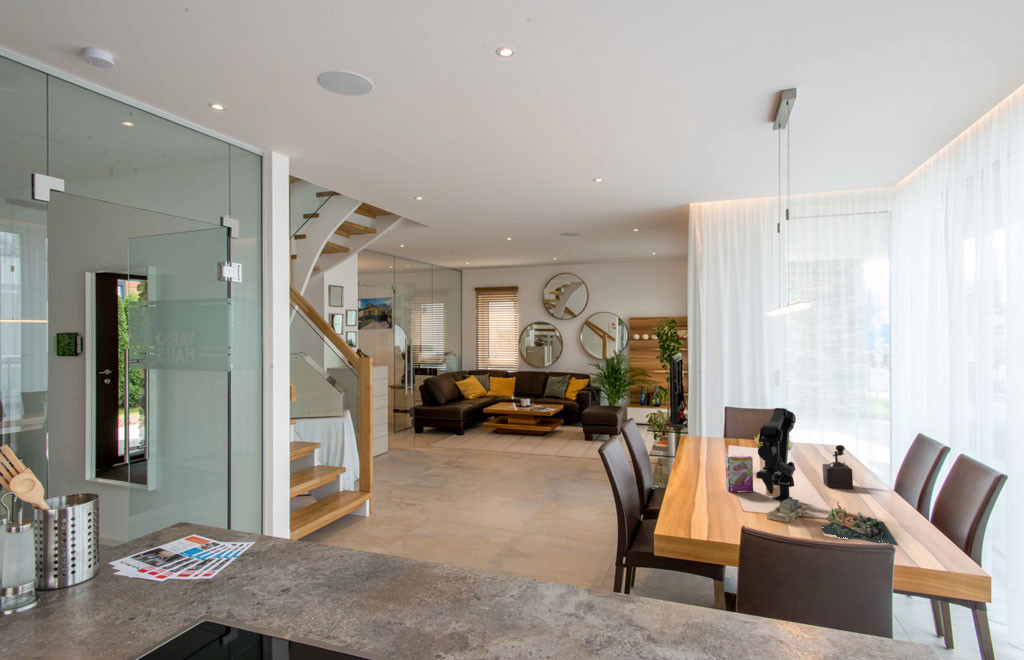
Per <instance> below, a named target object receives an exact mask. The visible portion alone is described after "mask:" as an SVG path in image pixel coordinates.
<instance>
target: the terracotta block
mask: <svg viewBox="0 0 1024 660" xmlns="http://www.w3.org/2000/svg"><path fill="white" fill-rule="evenodd" d="M765 487H766V486H765ZM765 489H766V490H765V492H766V496H769V497H778V496H779V495H780V486H779V485H774V486H773V494H770V493H769V491H768V489H767V487H766V488H765Z"/></svg>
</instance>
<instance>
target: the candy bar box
mask: <svg viewBox="0 0 1024 660" xmlns="http://www.w3.org/2000/svg"><path fill="white" fill-rule="evenodd" d="M724 459H725V489H727V490H726V491H727V492H728V491H729V492H728V493H738V492H737V491H753V492H754V470H753V469H754V468H753V467H754V466H753V463H754V462H753V456H751V455H749V454H747V455H746V454H745V455H744V454H740V455H739V454H725V458H724Z"/></svg>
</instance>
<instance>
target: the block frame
mask: <svg viewBox="0 0 1024 660" xmlns="http://www.w3.org/2000/svg"><path fill="white" fill-rule="evenodd" d="M778 503H779V505H778V506H776V507H775V508H773V509H771V510H769V511H767V512H766V519H768V520H772V519H773V521H776V520H778V521H777V522H781V521H782V522H783V523H786V522H787V524H790V523H791V522H793V521H794V520H795V519H797V518H798V517H800V516H801V515H802V514H801V513H803V512H804V511H806V512H807V506H806V505H801V504H800V503H799V499H795V498H793V499H791V498H787V499H785V500H784V501H782V500H781V501H780V502H778ZM804 513H805V512H804ZM804 513H803V514H804ZM800 514H801V515H800ZM799 515H800V516H799ZM796 517H797V518H796ZM793 519H794V520H793ZM790 521H791V522H790ZM782 522H781V523H782Z"/></svg>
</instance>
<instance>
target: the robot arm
mask: <svg viewBox="0 0 1024 660" xmlns="http://www.w3.org/2000/svg"><path fill="white" fill-rule="evenodd" d="M796 421H797V418H796V415H795V413H794V412H792V411H790V410H789V409H787V408H784V407H774V409H773V413H772V415H771V417H770V419H769V421H768V422H764V423H763V424H762V426H760V431H759V436H758V442H759V443H762V445H761V446H759V447H758V449H757V455H758V457H759V458H761V459H762V461H764V466H763V467H762V469H760V470H758V471H757V472H755V477H756V479H760V480H762V482H763V484H764V485H765V487H767V489H768V491H769V493H770V494H773V486H774V485H779V486H780V495H779V496H778V497H773V496H771V497H772V498H774V499H773V500H777V499H780V500H779V501H782V500H785V499H787V498H791V499H792V498H793V499H794V497H793V496H790V488H792V487H795V481H794V477H793V475H794V472H795V471H796V466H795V463H794V462H793V461H789V462H788V458H789V457H788V456H789V442H790V440H789V439H790V433H791V432H792V431H793V429H794V428H795V423H796Z"/></svg>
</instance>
